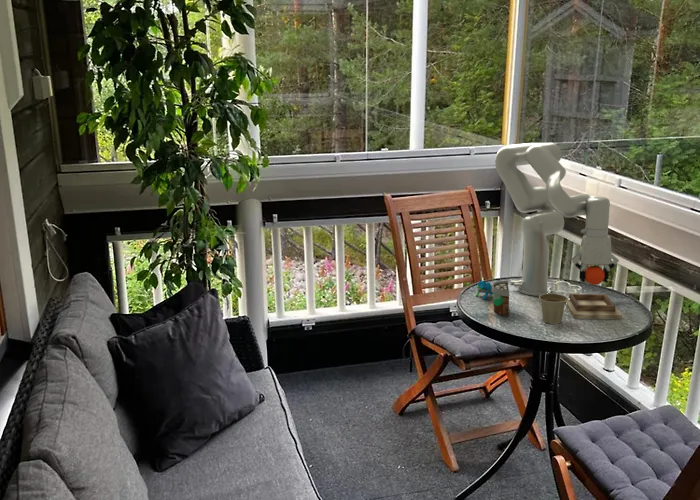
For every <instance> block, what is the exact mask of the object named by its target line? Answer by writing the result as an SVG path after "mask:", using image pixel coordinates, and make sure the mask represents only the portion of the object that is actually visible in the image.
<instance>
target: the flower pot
mask: <svg viewBox="0 0 700 500" xmlns="http://www.w3.org/2000/svg"><path fill="white" fill-rule="evenodd" d="M566 296H567V295H564V294H563V295H562V294H559V293H552V292H551V293H548V294H542V295H540V296H538V299H539V301H540V305H541V306H540V307H541V316H542V321H543V322H544V323H545V324H546V323H547V324H550V325H558V324H560V323H562V321H563V317H564V312H565V306H566V301H567V300H568V298H567V297H566Z"/></svg>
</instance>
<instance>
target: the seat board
mask: <svg viewBox="0 0 700 500" xmlns="http://www.w3.org/2000/svg"><path fill="white" fill-rule="evenodd" d="M568 296H569V298H570V300H567V301H566V303H567V306H566V307H567V309H568V311H569V312H570V313H571V314H570V315H572V317H573V319H579V320H580V319H583V320H584V319H585V320H586V319H589V320H592V319H593V320H623V314H622V313H621V311H620V309H618V308H617V306H616V305H615V304H614V303H613V301H612V300H611V299H610V298H609V296H608V295H607V294H601V293H599V294H596V293H594V294H593V293H569V295H568Z"/></svg>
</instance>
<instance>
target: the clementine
mask: <svg viewBox="0 0 700 500" xmlns="http://www.w3.org/2000/svg"><path fill="white" fill-rule="evenodd" d="M603 270H604V268H602V267H601V266H600V265H589V266H588V267H586V268H585V269H584V271H585V281H586V282H587V283H588V284H589V285H591V286H594V285H595V286H597V285H600V284H601V283H603V282H604V281H603V280H604V277H605V273H604V271H603Z"/></svg>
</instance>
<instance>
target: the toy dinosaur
mask: <svg viewBox="0 0 700 500" xmlns="http://www.w3.org/2000/svg"><path fill="white" fill-rule="evenodd" d="M492 286H493V284H491V283H490V282H488V281H487V282H486V281H485V280H479V281H478V283H477V285H476V289H477V293H476V295H475V296H476V297H479V295H480V293H481V294H482V293H483V294H484V295H483V298H482V300H484V301H486V299H487V297H488V295H491V296H493V292H492V291H491V289H492Z"/></svg>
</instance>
